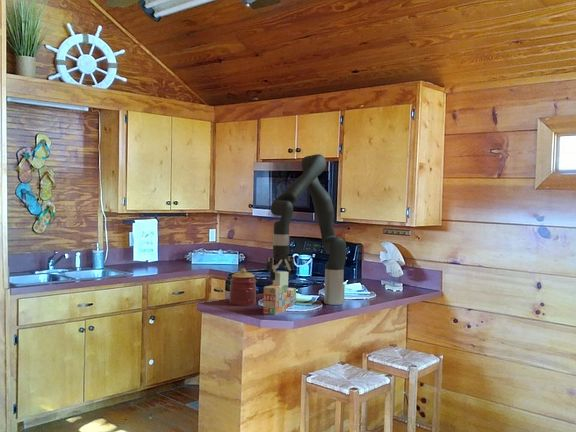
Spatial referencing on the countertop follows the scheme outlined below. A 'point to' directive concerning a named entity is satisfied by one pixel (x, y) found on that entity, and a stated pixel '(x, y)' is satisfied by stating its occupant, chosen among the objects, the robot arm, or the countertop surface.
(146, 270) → the countertop surface
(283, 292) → the stack of blocks
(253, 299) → the canister
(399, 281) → the countertop surface
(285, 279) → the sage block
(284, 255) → the robot arm
